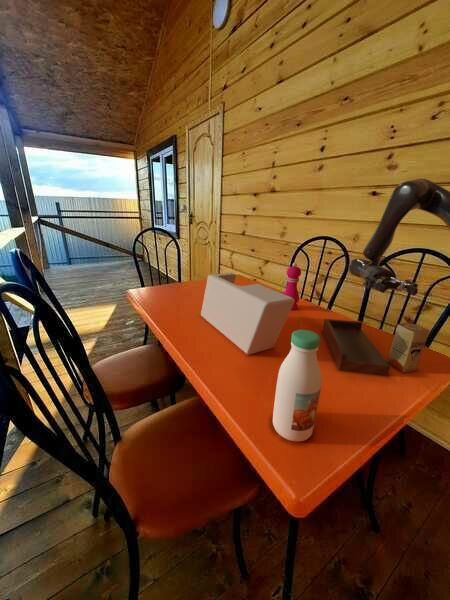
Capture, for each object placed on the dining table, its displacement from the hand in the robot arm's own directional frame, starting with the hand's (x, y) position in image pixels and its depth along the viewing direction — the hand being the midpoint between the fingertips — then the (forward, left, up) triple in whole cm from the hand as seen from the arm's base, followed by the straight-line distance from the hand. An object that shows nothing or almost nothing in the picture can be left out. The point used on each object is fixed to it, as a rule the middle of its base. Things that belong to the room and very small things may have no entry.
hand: (399, 290), depth 75 cm
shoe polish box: (0, +11, -19) cm, 22 cm away
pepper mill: (+28, -29, -19) cm, 44 cm away
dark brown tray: (+12, +5, -19) cm, 23 cm away
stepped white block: (+47, +2, -19) cm, 51 cm away
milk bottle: (+32, +39, -19) cm, 54 cm away
